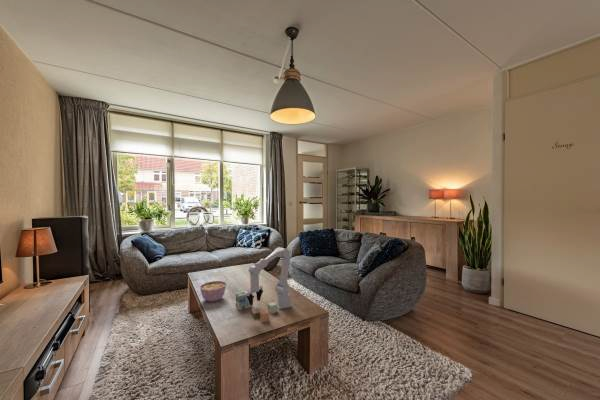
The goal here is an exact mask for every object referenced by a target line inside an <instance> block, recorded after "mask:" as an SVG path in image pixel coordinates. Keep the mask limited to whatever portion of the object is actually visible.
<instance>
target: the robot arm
mask: <svg viewBox="0 0 600 400" xmlns="http://www.w3.org/2000/svg"><path fill="white" fill-rule="evenodd" d="M275 258H281V260H282V263H281V264H282V265H281V270H280V277H279V281H277V282H276V283H277V284H276V287H275V291H276V293H277V303H276V304H277V310H281V309H282V310H283V309H288V308H291V307H292V305H291V302H292V301H291V299H292V298H291V293H290V285H289V283H288V277H289V271H290V262H291V251H290V250H289V249H288V248H284V247H281V246H277V247H276V248H274V250H273V251H272V252H271V253H270V254H269V255H268V256H266V258H260V259H259V261H257V262H256V263H254V264H253V265H252V264H251V266H250V267H249V269H248V273H249V276H250V279H249V280H250V285H249V286H250V288H249V289H248V290H249V291H248V292H247V293H246V297H247V298H248V300H249V304H250V305H252V306H253V305H254V297H255V295H253V294H256V301H258V302H260V301H261V298H262V294H263V292H264V290H263V289H264V288H263V286H262V285H260V279H259V278H260V276H259V275H260V273H261V271H262V270H263V269H265V267H267V266H268V264H269V263H270V262H271V261H273V260H274V259H275Z"/></svg>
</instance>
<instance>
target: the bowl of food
mask: <svg viewBox="0 0 600 400" xmlns="http://www.w3.org/2000/svg"><path fill="white" fill-rule="evenodd" d="M226 286H227V283H226V282H225V281H222V280H216V281H215V280H213V281H207V282H205V283H203V284H201V285H200V286H199V289H200V293H201V297H202V298H203V300H205V301H207V302H210V303H213V302H217V301H219V300H220V299H222V298H223V297H224V295H225V292H226Z"/></svg>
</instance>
